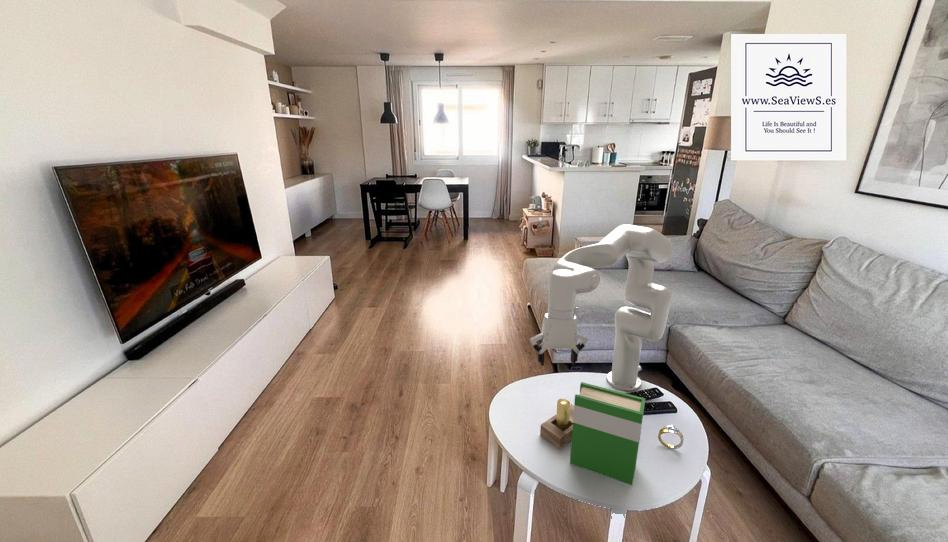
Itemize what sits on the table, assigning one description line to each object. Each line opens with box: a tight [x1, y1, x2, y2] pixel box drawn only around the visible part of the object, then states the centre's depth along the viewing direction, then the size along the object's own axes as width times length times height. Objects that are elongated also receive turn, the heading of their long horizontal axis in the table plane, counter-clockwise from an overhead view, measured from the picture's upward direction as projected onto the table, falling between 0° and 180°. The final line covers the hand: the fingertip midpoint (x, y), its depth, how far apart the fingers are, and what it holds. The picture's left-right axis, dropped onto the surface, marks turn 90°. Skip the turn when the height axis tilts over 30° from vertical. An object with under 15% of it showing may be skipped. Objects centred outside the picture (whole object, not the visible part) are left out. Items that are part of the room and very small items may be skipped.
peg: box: [555, 398, 571, 431], centre depth 129 cm, size 4×4×12 cm
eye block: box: [539, 403, 574, 450], centre depth 132 cm, size 16×8×4 cm, turn 130°
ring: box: [657, 424, 685, 450], centre depth 123 cm, size 7×3×8 cm, turn 57°
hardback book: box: [569, 381, 646, 486], centre depth 114 cm, size 18×7×24 cm, turn 63°
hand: (557, 363), depth 121 cm, fingers open, 9 cm apart
